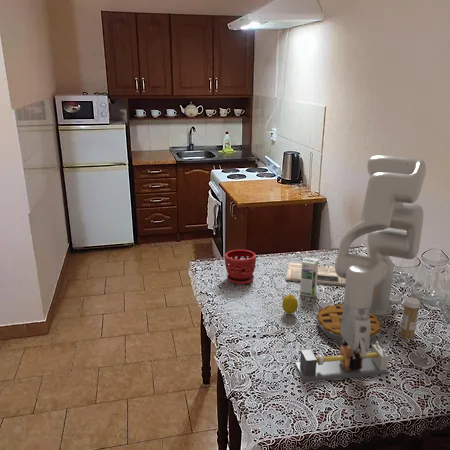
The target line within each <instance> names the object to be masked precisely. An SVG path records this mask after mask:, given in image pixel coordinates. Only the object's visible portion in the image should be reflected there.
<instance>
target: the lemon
mask: <svg viewBox="0 0 450 450" xmlns="http://www.w3.org/2000/svg"><path fill="white" fill-rule="evenodd" d="M281 306H282V310H283V311H284V313H286V314H288V315H293V314H294V313H295V312H296V311H297V309H298V307H299V305H298V299H297V298H296V296H294V295H293V294H287V295H286V296H285V297H283V299H282V304H281Z"/></svg>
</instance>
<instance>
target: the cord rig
mask: <svg viewBox="0 0 450 450" xmlns="http://www.w3.org/2000/svg"><path fill="white" fill-rule="evenodd" d="M366 355H367V356H366V357H363V365H362V369H357V370H345V369H344V367H343V365H342V364H341V362H340V361H342V360H345V356H344V355H341V356H339V355H333V356H331V355H330V356H323V355H322V354H317V355H316V356H315V354H314V352H313V351H312V349H301V351H300V361H298V362H297V361H296V362H295V363H294V364H295V365H296V366H295V365H294V366H295V367H296V369H297V372H298V374H299V375H300V378H301V380H302V382H303V383H309V382H318V381H330V380H332V381H333V380H341V379H342V380H343V379H353V378H361V377H363V378H364V377H375V376H383V375H390V374H391V371H390V370H389V369H388V363H389V355H388V353H387V350H386V349H383V348H382V347H381V346H380V343H379V341H378V340H376V341H375V344H372V345H371V351H370V352H366Z"/></svg>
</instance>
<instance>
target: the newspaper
mask: <svg viewBox="0 0 450 450" xmlns="http://www.w3.org/2000/svg"><path fill="white" fill-rule="evenodd" d="M301 269H302V262H301V263H300V262H288V267H287V272H286V281H290V282H291V281H292V282H301ZM345 283H346V279H345V278H341V277H339V276H338V275H337V274H336V271H335V266H332V265H322V264H321V265H320V264H318V275H317V284H321V285H331V286H343V287H345Z"/></svg>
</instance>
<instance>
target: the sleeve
mask: <svg viewBox="0 0 450 450" xmlns="http://www.w3.org/2000/svg"><path fill="white" fill-rule="evenodd" d="M358 353H359V350H358V351H355V354H358ZM341 355H344V356H345V360H342V361H340V362H341V364H342V365H343V367H344V369H345V370H350V369H349V366H350V357H352V349H351V348H350V346H349V345H342V344H341V345H340V347H339V355H338V356H341ZM362 365H363V358H362V360H361V368H360V369H362Z"/></svg>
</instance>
